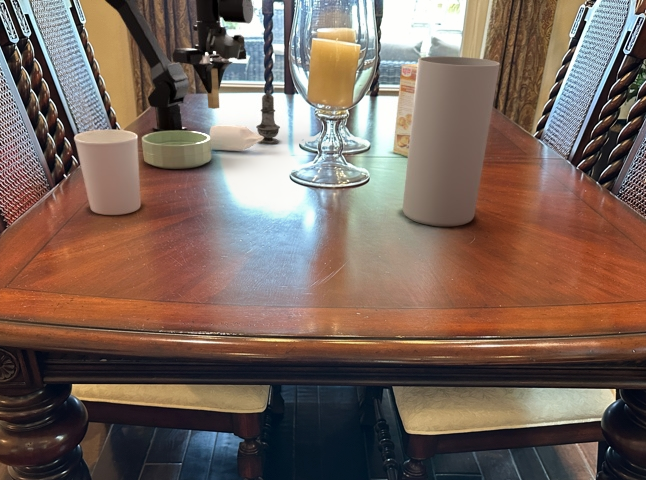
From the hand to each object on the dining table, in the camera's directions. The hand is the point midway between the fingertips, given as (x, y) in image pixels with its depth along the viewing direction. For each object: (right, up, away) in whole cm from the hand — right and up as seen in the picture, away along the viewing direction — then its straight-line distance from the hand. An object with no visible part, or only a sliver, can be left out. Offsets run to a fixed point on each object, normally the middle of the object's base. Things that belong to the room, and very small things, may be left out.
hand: (212, 92), depth 150 cm
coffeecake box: (+52, -15, -2) cm, 54 cm away
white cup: (-9, -38, -45) cm, 59 cm away
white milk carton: (+7, -17, -8) cm, 20 cm away
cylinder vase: (+47, -39, -43) cm, 75 cm away
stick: (0, -3, +2) cm, 4 cm away
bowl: (-4, -22, -18) cm, 28 cm away
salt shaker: (+14, -12, +1) cm, 18 cm away
